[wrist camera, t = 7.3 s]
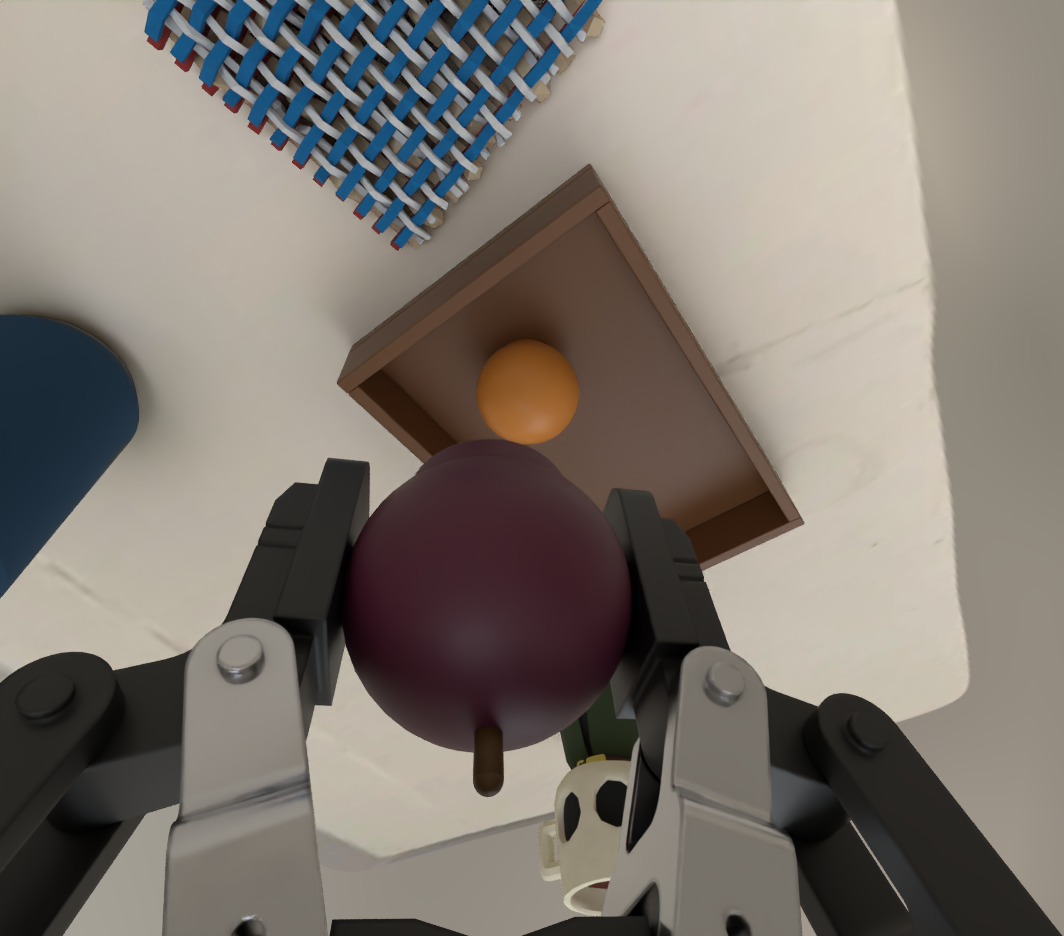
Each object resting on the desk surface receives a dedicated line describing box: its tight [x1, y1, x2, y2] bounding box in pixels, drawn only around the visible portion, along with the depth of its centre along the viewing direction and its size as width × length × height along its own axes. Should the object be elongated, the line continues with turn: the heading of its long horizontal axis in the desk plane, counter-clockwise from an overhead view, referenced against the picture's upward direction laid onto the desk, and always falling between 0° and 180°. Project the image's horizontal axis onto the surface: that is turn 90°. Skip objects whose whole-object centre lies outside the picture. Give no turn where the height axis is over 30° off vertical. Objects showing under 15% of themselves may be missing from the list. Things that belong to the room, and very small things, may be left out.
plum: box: [341, 439, 632, 797], centre depth 10 cm, size 5×5×6 cm
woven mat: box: [142, 0, 605, 251], centre depth 18 cm, size 10×11×2 cm
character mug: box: [538, 682, 639, 916], centre depth 38 cm, size 11×7×13 cm, turn 123°
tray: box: [337, 164, 804, 571], centre depth 27 cm, size 19×12×3 cm, turn 36°
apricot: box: [476, 339, 579, 445], centre depth 24 cm, size 4×4×4 cm
